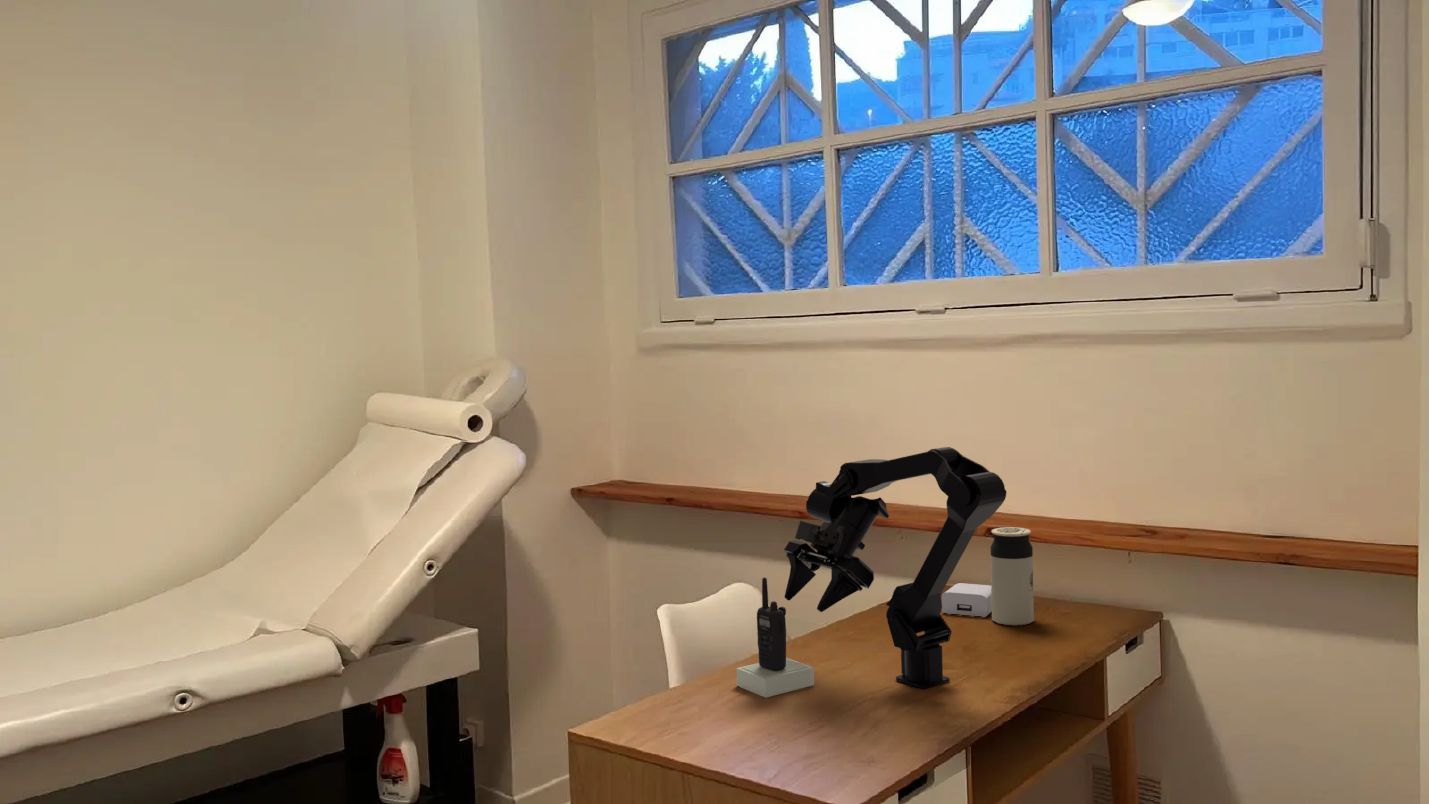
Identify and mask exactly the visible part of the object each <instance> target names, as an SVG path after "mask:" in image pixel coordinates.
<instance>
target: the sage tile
mask: <svg viewBox="0 0 1429 804" xmlns="http://www.w3.org/2000/svg"><path fill="white" fill-rule="evenodd" d="M735 670H736V686H737V687H738V686H739V688H742V689H743V690H746V691H748V692H751V693H754V694H755V695H758V696H760V697H763V698H770V697H774V696H777V695H781V694H786V693H789V692H793V691H798V690H802V689H805V688H809V687H812V686H815V673H814V672H815V669H814V666H811V665H807V664H805V663H802V662H800V661H796V660H793V659H791V658H789V657H786V667H785V668H784V669H781V670H777V671H774V670H771V669H768V668H765V667H762V666H760V665H759V662H757V663H752V664H748V665H745V666H740V667H737V668H736V669H735Z"/></svg>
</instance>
